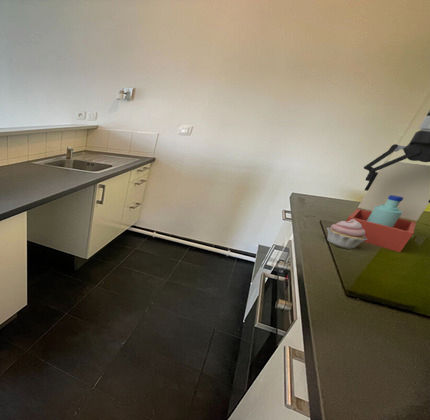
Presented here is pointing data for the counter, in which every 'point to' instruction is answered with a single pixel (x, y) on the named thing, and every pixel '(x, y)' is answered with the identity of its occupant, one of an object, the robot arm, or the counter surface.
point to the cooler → (384, 231)
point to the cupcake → (346, 234)
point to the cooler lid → (401, 188)
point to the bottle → (386, 212)
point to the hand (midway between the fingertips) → (396, 196)
